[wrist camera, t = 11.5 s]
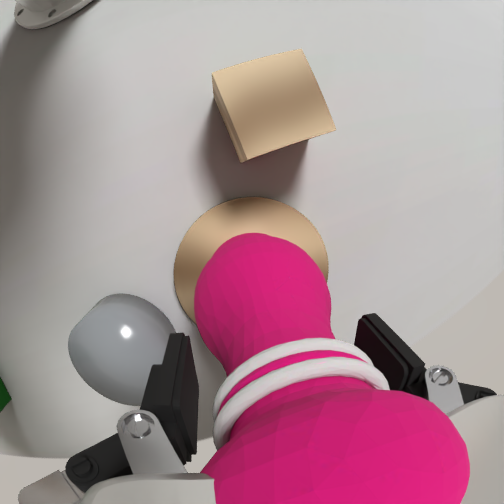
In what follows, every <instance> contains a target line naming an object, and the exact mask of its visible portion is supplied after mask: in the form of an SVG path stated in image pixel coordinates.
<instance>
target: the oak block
mask: <svg viewBox="0 0 504 504" xmlns="http://www.w3.org/2000/svg"><path fill="white" fill-rule="evenodd" d="M212 83H213V94H214V99H215V101H216V104H217V106H218V108H219V111H220V113H221V116H222V118H223V121H224V123H225V125H226V128H227V130H228V133H229V135H230V138H231V140H232V143H233V145H234V148H235V150H236V153H237V155H238V158H239V160H240V163H242V162H245V161H247V160H250V159H253V158H255V157H258V156H261V155H263V154H266V153H269V152H272V151H275V150H278V149H280V148H283V147H286V146H289V145H292V144H295V143H298V142H301V141H305V140H308V139H311V138H314V137H317V136H320V135H323V134H326V133H329V132H332V131H335V130H336V128H335V125H334V122H333V120H332V117H331V115H330V112H329V109H328V107H327V104H326V102H325V100H324V97H323V95H322V92H321V90H320V88H319V85H318V83H317V81H316V79H315V76H314V74H313V72H312V70H311V68H310V66H309V63H308V61H307V59H306V57H305V55H304V53H303V51H302V49H298V50H293V51H288V52H283V53H279V54H274V55H270V56H266V57H262V58H258V59H255V60H251V61H247V62H244V63H240V64H237V65H234V66H231V67H228V68H224V69H221V70H218V71H216V72H213V73H212Z"/></svg>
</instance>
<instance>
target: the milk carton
mask: <svg viewBox="0 0 504 504" xmlns="http://www.w3.org/2000/svg"><path fill="white" fill-rule="evenodd" d="M10 400H11V397H10V395H9V394H8V392H7V390H6V388H5V386H4V384H3V382H2V379H1V377H0V412H1V411H2V410H3V408H4V407H5V406H6V405H7V404H8V403H9V401H10Z"/></svg>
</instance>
